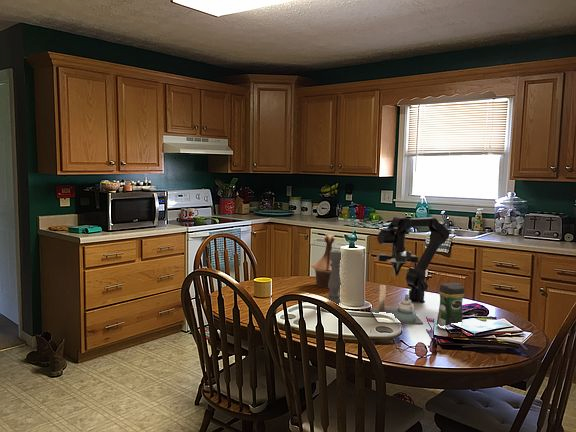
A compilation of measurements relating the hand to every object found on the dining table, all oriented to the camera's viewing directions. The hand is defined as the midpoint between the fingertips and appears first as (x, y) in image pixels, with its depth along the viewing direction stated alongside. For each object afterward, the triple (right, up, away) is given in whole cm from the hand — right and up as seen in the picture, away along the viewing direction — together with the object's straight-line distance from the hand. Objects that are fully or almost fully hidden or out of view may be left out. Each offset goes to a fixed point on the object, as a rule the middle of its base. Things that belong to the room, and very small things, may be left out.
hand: (396, 275), depth 234 cm
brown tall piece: (-31, -9, +28) cm, 43 cm away
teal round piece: (-2, -16, -26) cm, 30 cm away
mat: (-5, -15, -21) cm, 26 cm away
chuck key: (-6, -12, -25) cm, 28 cm away
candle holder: (-30, -13, -6) cm, 34 cm away
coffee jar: (+14, -17, -33) cm, 40 cm away
